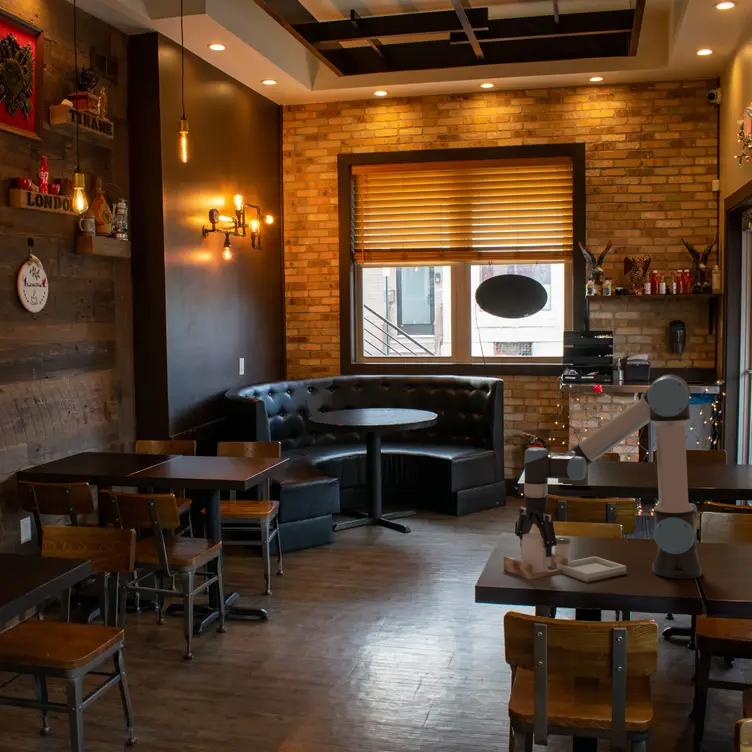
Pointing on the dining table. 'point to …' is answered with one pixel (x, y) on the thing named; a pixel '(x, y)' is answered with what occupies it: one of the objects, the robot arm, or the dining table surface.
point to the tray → (592, 568)
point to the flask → (574, 482)
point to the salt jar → (563, 547)
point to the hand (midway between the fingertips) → (535, 562)
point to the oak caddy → (526, 569)
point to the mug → (534, 552)
